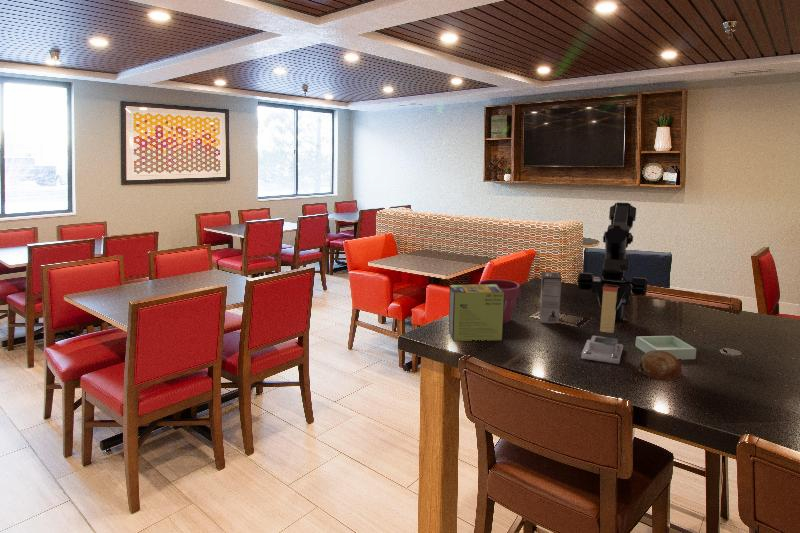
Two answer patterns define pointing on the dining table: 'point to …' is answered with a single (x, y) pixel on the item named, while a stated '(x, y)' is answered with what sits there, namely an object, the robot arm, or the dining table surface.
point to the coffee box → (550, 297)
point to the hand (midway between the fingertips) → (608, 308)
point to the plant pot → (506, 295)
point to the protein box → (476, 312)
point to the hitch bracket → (602, 350)
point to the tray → (666, 346)
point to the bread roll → (660, 365)
